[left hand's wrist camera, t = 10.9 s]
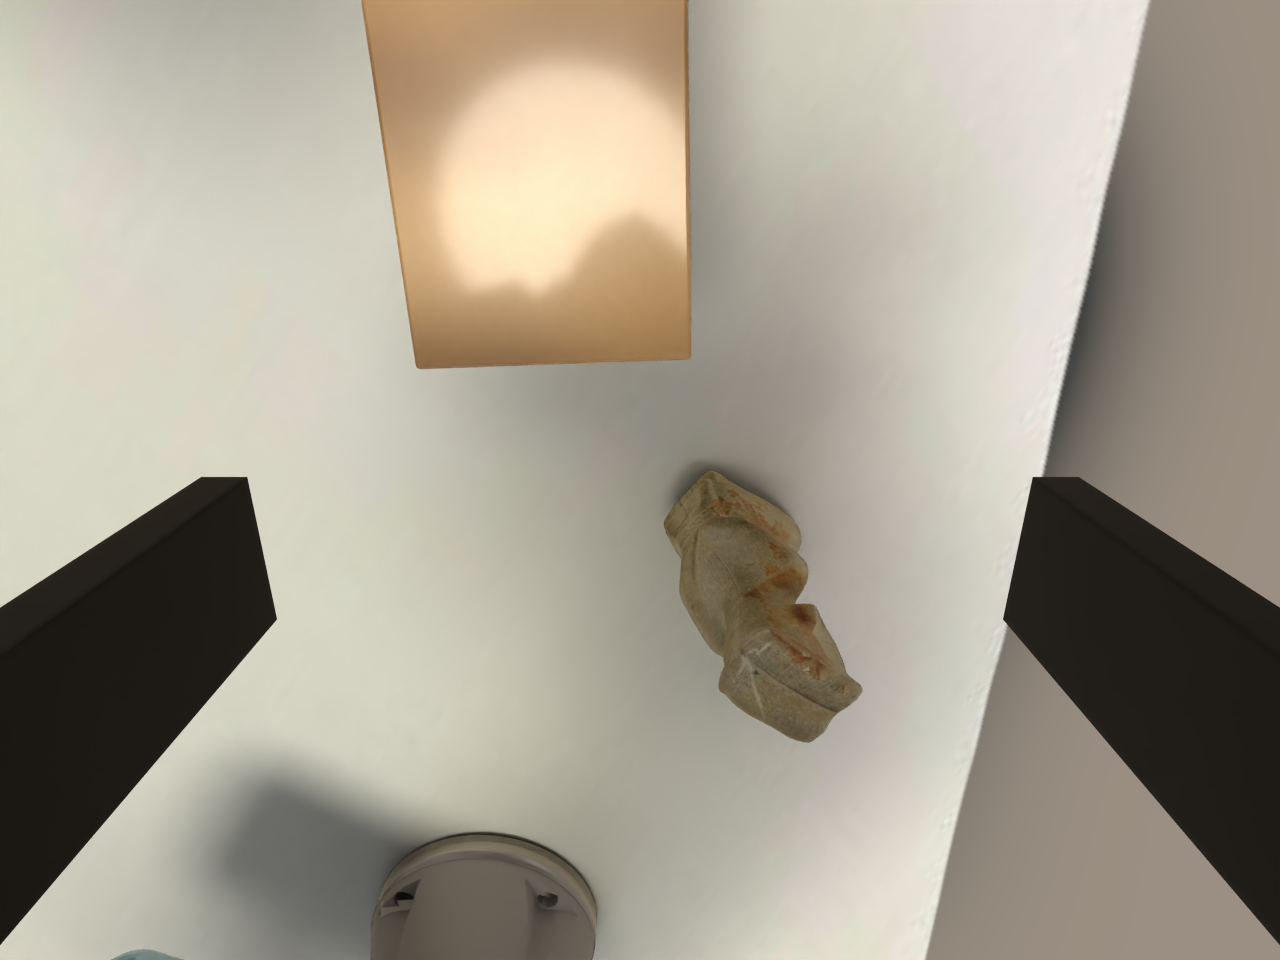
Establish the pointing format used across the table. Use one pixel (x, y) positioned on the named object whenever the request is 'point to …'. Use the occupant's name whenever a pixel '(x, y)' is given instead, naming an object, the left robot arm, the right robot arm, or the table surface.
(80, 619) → the left robot arm
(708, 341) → the table surface
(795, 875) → the table surface
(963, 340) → the table surface
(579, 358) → the box
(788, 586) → the sculpture
